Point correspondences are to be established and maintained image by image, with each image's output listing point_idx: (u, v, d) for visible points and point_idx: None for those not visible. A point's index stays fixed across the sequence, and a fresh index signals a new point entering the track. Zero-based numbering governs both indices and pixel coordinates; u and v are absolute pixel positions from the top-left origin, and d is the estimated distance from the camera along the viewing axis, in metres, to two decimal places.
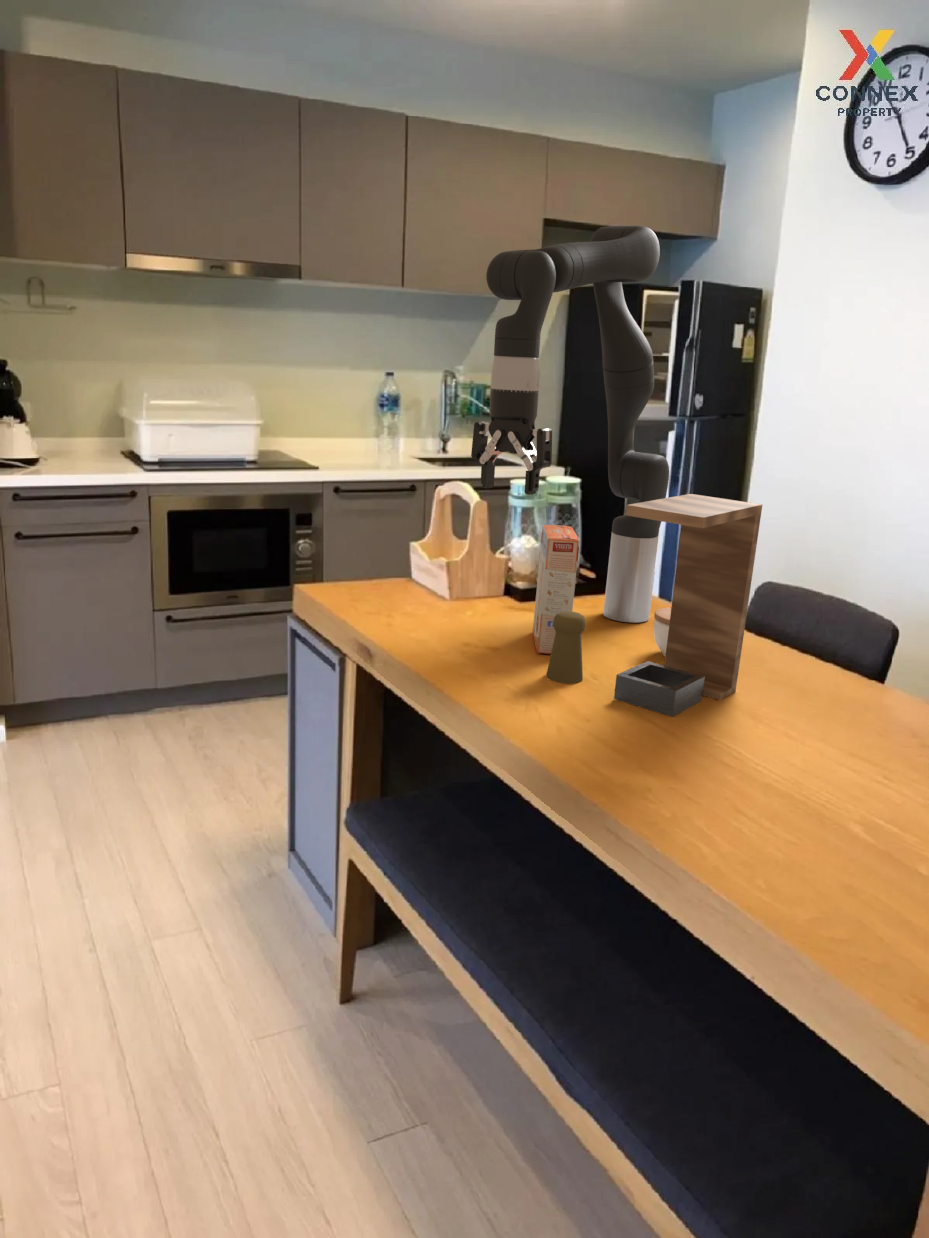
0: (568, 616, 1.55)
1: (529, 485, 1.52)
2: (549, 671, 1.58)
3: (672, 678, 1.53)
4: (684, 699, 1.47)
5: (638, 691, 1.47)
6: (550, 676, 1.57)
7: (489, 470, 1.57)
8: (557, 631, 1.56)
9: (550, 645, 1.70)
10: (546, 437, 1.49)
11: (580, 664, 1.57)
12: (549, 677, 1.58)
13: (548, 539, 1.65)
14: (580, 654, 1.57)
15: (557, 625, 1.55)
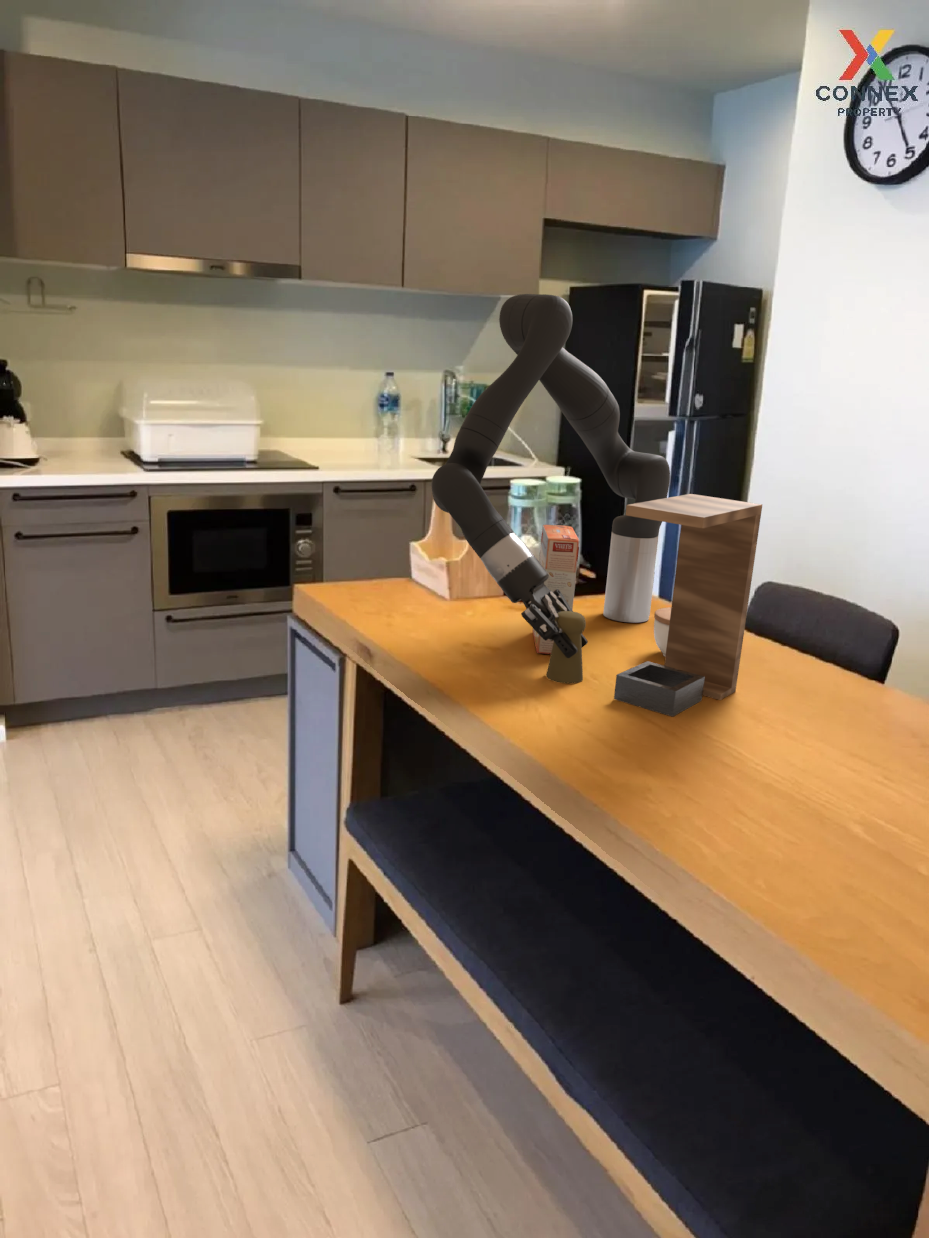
0: (568, 616, 1.54)
1: None
2: (549, 671, 1.58)
3: (672, 678, 1.53)
4: (684, 699, 1.47)
5: (638, 691, 1.47)
6: (550, 676, 1.57)
7: None
8: None
9: (550, 645, 1.70)
10: (530, 617, 1.52)
11: (580, 664, 1.57)
12: (549, 677, 1.58)
13: (548, 539, 1.65)
14: (580, 654, 1.57)
15: None
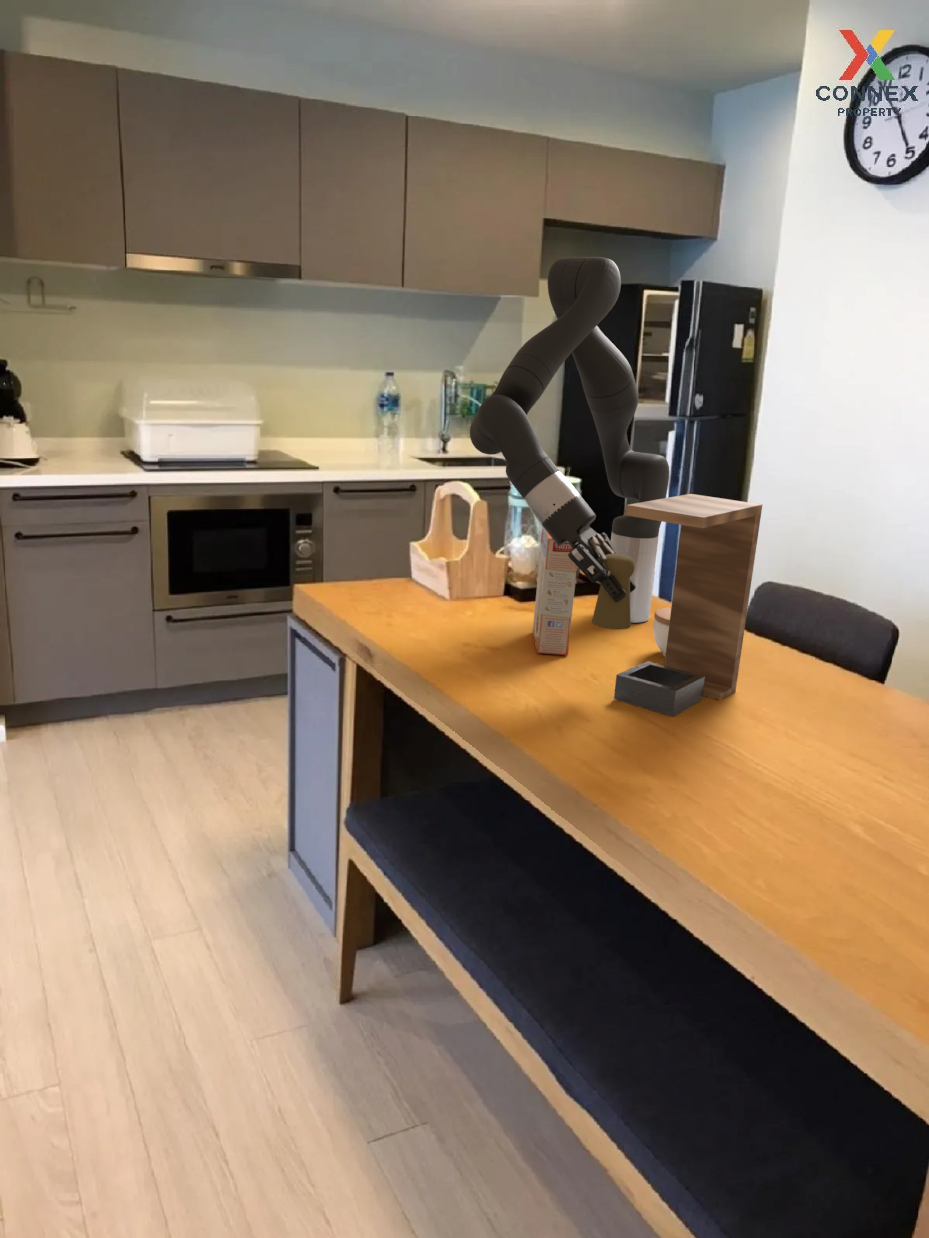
0: (616, 558, 1.47)
1: (611, 595, 1.47)
2: (595, 617, 1.50)
3: (672, 678, 1.53)
4: (684, 699, 1.47)
5: (638, 691, 1.47)
6: (597, 622, 1.50)
7: None
8: None
9: (550, 645, 1.70)
10: (577, 558, 1.44)
11: (628, 609, 1.49)
12: (595, 623, 1.50)
13: (548, 539, 1.65)
14: (629, 599, 1.49)
15: None
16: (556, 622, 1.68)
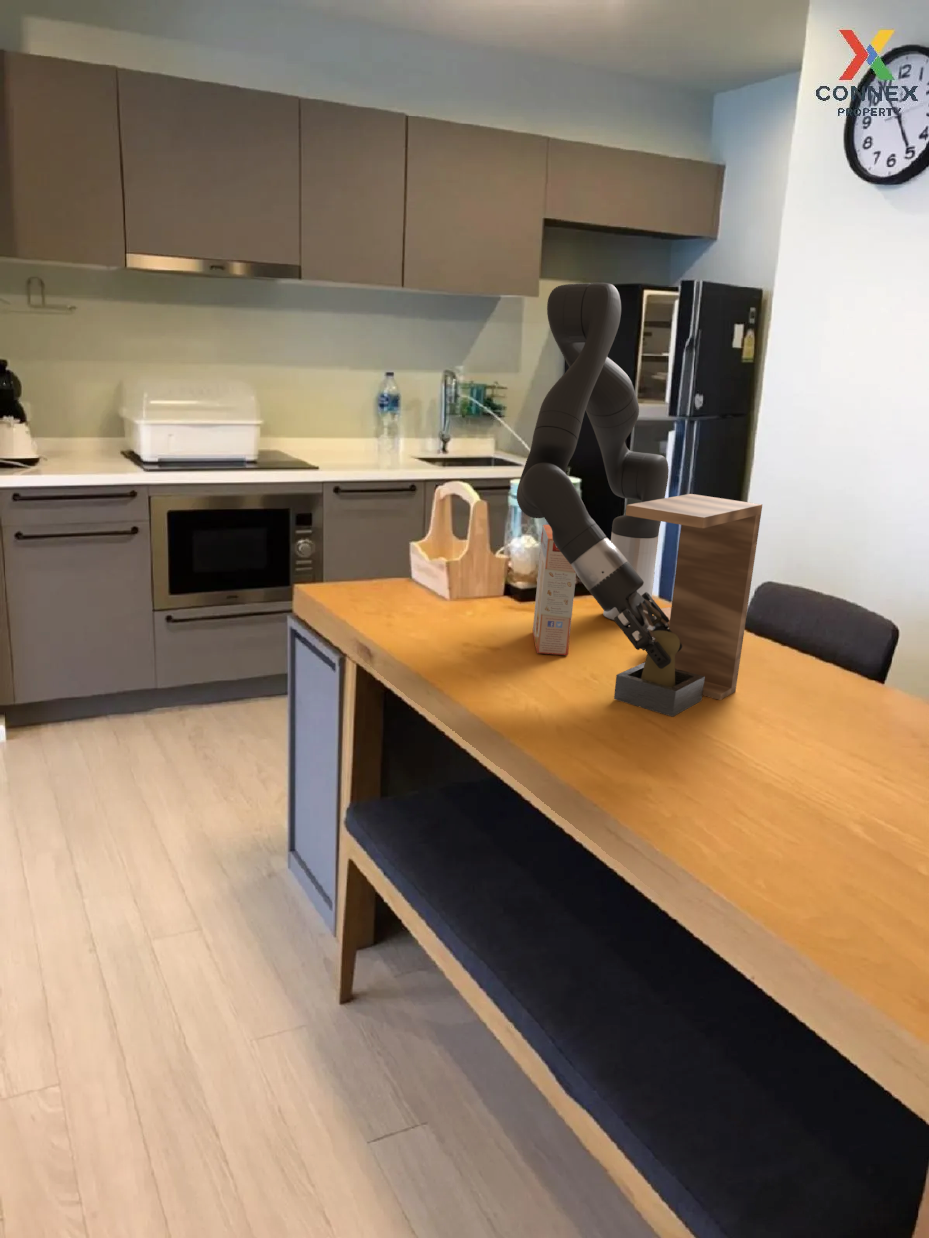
0: (662, 636, 1.47)
1: None
2: None
3: None
4: (684, 699, 1.47)
5: (638, 691, 1.47)
6: None
7: None
8: None
9: (550, 645, 1.70)
10: (623, 622, 1.43)
11: (673, 686, 1.49)
12: None
13: (548, 539, 1.65)
14: (674, 676, 1.49)
15: None
16: (556, 622, 1.68)
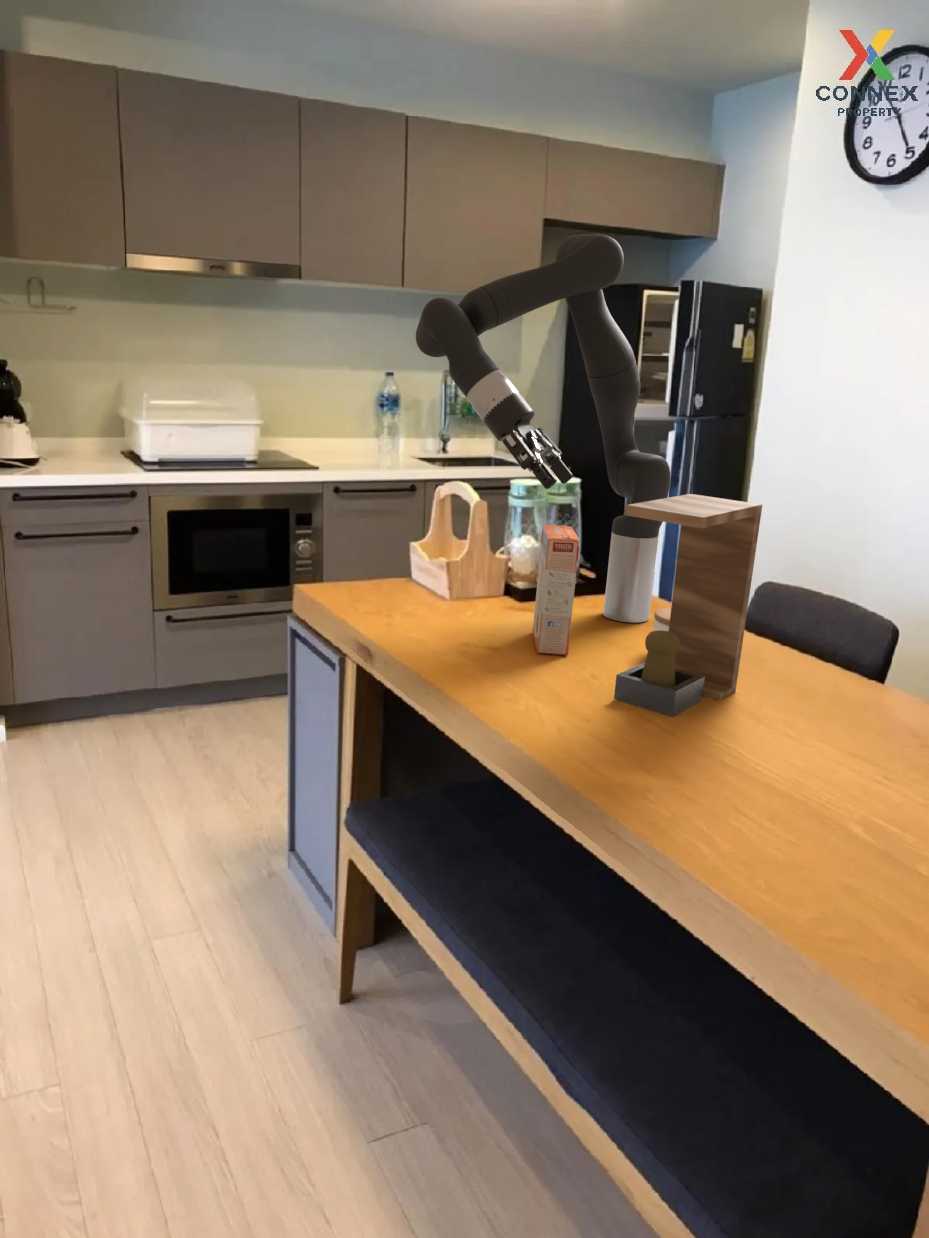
0: (662, 636, 1.47)
1: (541, 482, 1.54)
2: None
3: None
4: (684, 699, 1.47)
5: (638, 691, 1.47)
6: None
7: (556, 468, 1.62)
8: (650, 652, 1.48)
9: (550, 645, 1.70)
10: (510, 443, 1.53)
11: (673, 686, 1.49)
12: None
13: (548, 539, 1.65)
14: (674, 676, 1.49)
15: (650, 645, 1.47)
16: (556, 622, 1.68)
